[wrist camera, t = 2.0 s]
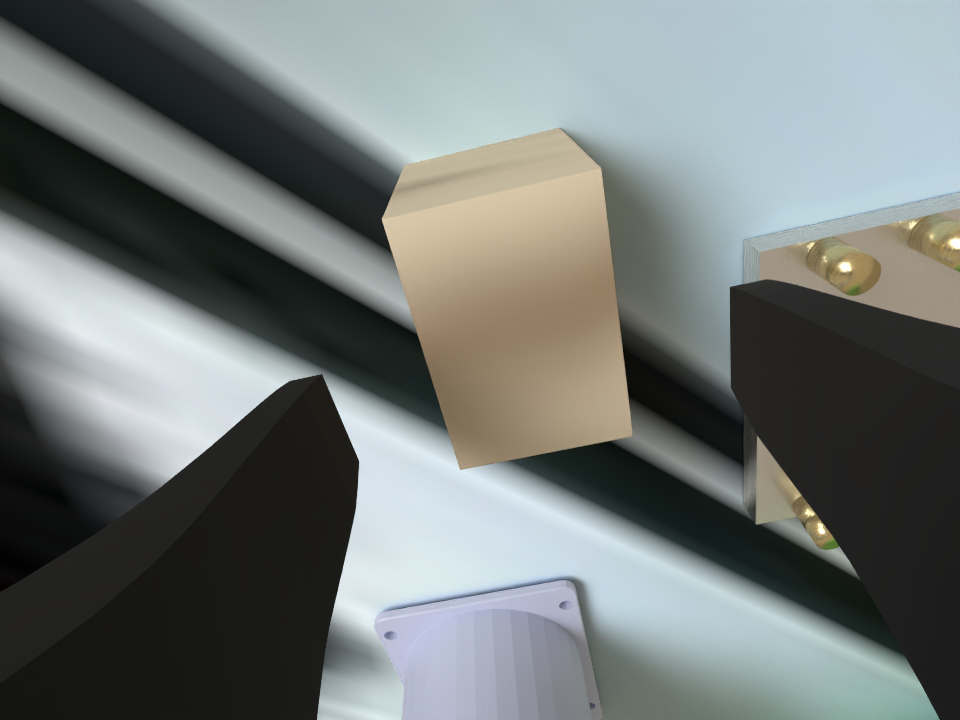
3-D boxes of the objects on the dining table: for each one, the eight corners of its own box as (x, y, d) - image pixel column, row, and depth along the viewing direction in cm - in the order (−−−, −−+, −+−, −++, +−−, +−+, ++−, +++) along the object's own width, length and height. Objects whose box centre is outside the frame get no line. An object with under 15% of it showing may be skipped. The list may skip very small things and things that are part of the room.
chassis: (916, 471, 20) (971, 524, 18) (743, 503, 21) (776, 558, 19) (971, 189, 16) (1054, 215, 13) (743, 240, 16) (788, 272, 14)
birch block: (589, 335, 17) (632, 435, 13) (460, 362, 18) (460, 469, 13) (559, 127, 15) (600, 168, 10) (404, 164, 15) (381, 219, 11)
